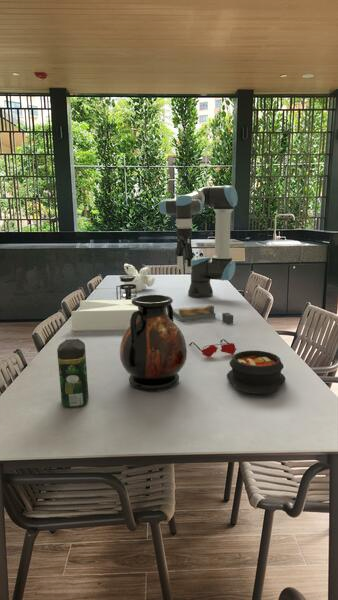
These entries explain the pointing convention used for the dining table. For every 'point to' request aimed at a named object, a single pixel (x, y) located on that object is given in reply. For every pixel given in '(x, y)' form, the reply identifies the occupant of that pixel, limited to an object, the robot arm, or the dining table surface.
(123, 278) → the french press
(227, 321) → the block
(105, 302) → the building model
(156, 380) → the amphora vase
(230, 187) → the robot arm
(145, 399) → the dining table surface
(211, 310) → the hinged leg
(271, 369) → the casserole
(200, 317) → the stool seat
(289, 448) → the dining table surface
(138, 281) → the white lobed sculpture
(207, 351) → the glasses
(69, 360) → the coffee jar
